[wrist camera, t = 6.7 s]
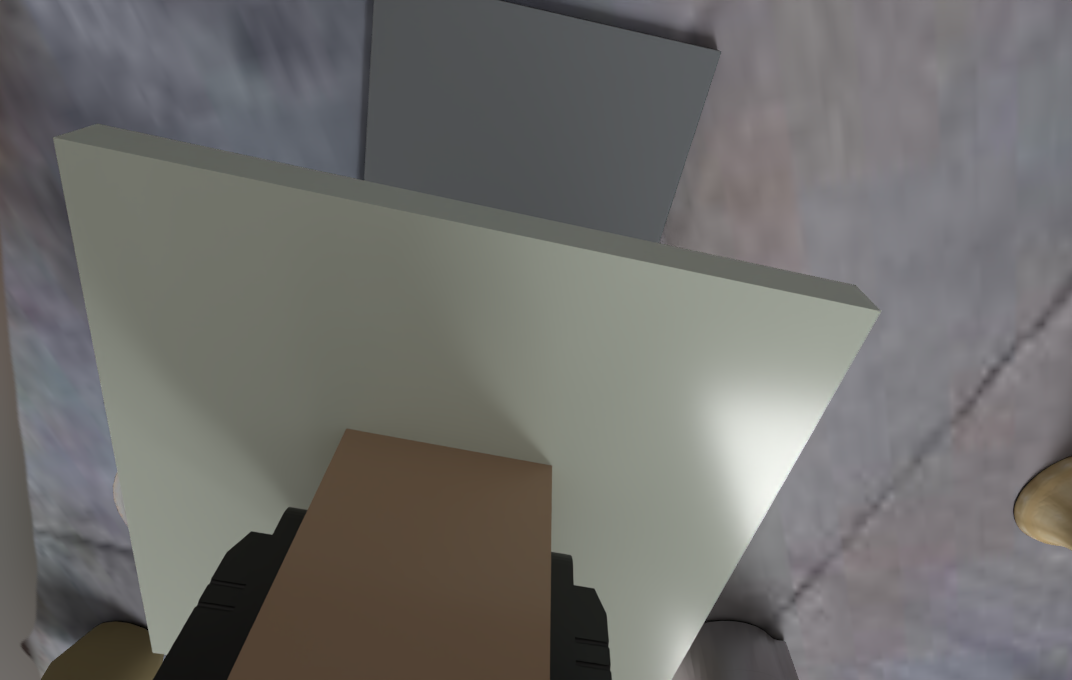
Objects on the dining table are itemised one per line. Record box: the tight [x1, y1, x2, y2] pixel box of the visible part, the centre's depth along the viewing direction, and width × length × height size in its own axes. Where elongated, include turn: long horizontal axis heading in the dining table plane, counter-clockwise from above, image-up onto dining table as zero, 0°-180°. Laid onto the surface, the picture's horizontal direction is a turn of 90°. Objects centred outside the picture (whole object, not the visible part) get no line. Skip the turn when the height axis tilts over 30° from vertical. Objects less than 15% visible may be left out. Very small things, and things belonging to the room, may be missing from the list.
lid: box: [53, 124, 881, 680], centre depth 11 cm, size 13×13×6 cm
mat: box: [364, 0, 721, 243], centre depth 30 cm, size 15×15×1 cm
